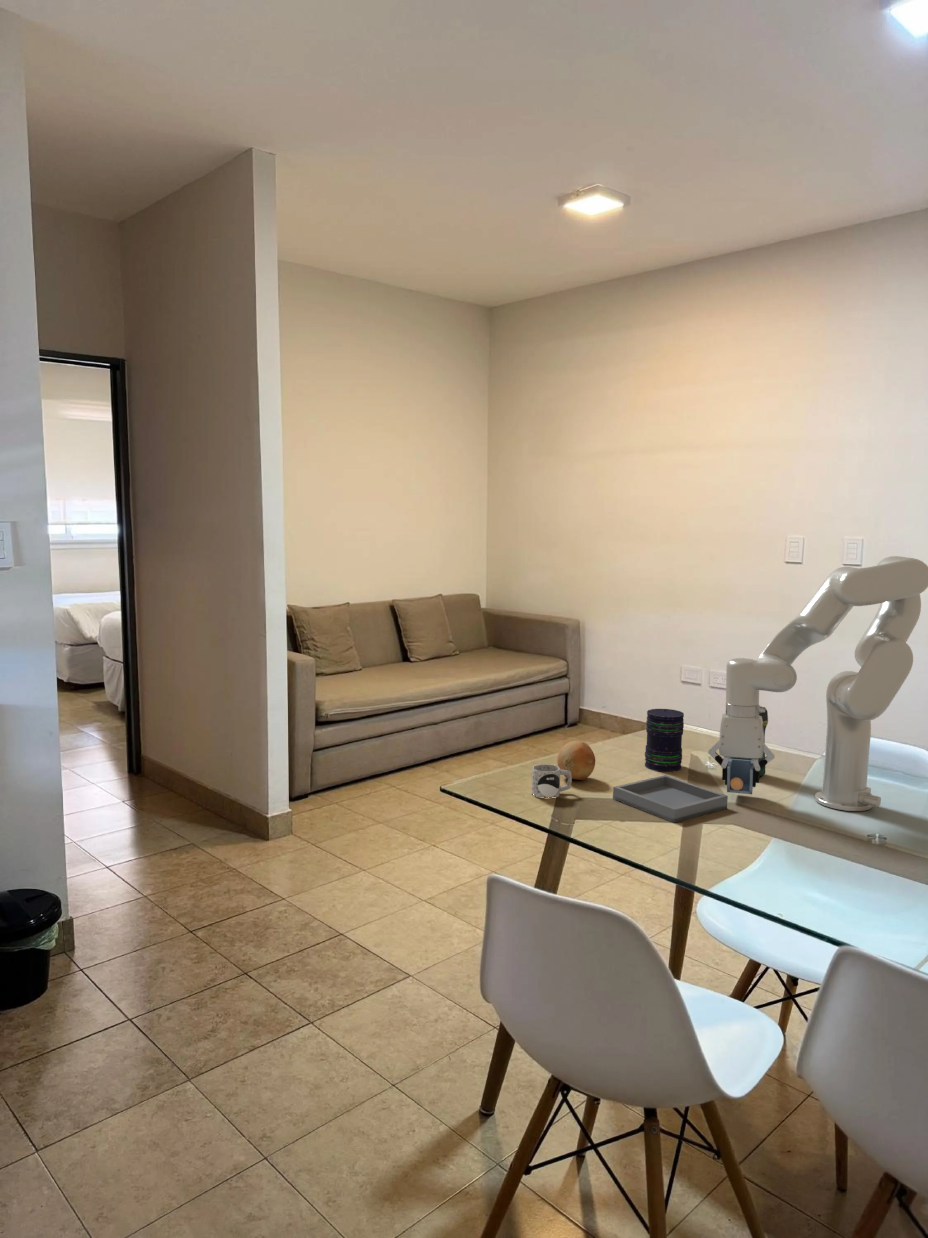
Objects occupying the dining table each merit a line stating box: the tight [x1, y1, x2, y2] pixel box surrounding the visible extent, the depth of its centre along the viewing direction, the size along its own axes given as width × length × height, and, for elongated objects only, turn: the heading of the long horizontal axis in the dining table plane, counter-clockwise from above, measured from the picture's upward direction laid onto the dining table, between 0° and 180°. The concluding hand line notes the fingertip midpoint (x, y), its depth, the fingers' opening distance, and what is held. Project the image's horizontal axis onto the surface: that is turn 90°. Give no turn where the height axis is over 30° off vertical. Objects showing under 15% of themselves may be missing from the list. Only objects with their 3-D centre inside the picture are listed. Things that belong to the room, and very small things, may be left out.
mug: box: [531, 763, 573, 798], centre depth 210 cm, size 10×7×7 cm
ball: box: [730, 777, 743, 790], centre depth 206 cm, size 3×3×3 cm
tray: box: [612, 774, 729, 824], centre depth 205 cm, size 19×18×3 cm
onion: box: [556, 739, 596, 781], centre depth 222 cm, size 10×10×10 cm
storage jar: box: [644, 708, 685, 773], centre depth 234 cm, size 10×10×15 cm
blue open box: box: [726, 759, 754, 795], centre depth 209 cm, size 8×6×6 cm
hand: (740, 783), depth 209 cm, fingers closed on blue open box, 5 cm apart
